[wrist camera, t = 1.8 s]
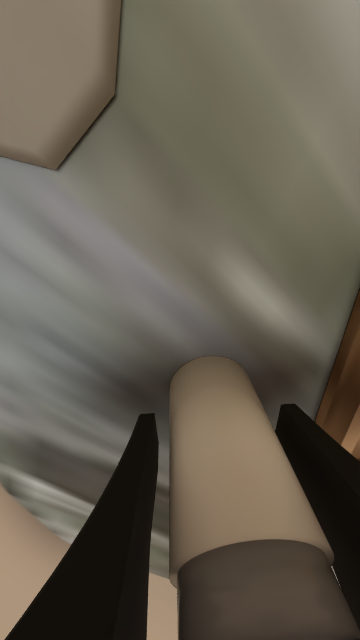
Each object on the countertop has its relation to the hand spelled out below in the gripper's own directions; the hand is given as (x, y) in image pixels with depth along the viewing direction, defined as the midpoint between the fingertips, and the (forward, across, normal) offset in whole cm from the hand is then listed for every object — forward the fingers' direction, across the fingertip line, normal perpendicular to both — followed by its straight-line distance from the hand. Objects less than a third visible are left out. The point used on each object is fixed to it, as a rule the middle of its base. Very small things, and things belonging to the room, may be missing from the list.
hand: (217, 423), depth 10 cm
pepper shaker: (+2, 0, 0) cm, 2 cm away
